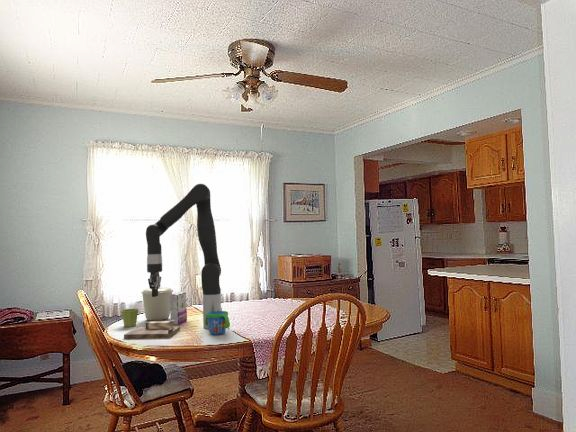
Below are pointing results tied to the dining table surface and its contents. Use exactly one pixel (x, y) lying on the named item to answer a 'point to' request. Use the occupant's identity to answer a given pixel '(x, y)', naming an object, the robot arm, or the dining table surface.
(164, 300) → the canister
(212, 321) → the snack cup
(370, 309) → the dining table surface
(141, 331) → the walnut board
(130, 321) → the plant pot
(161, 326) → the folding leg
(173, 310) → the candy bar box
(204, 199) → the robot arm
